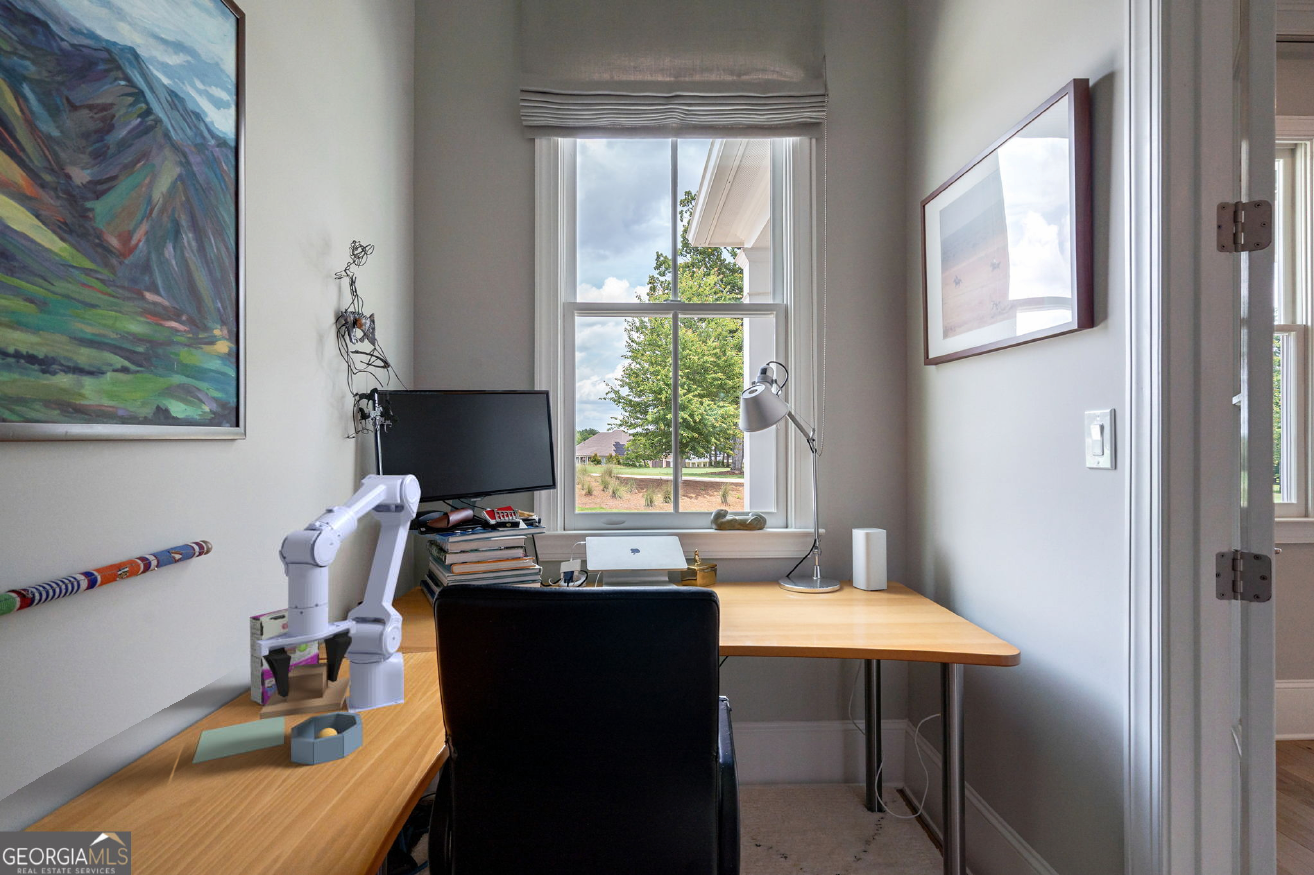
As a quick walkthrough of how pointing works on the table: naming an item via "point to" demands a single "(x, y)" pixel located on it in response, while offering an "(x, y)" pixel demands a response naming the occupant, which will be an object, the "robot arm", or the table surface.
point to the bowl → (326, 738)
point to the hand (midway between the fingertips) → (308, 687)
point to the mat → (240, 739)
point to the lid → (307, 693)
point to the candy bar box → (260, 670)
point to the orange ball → (326, 733)
